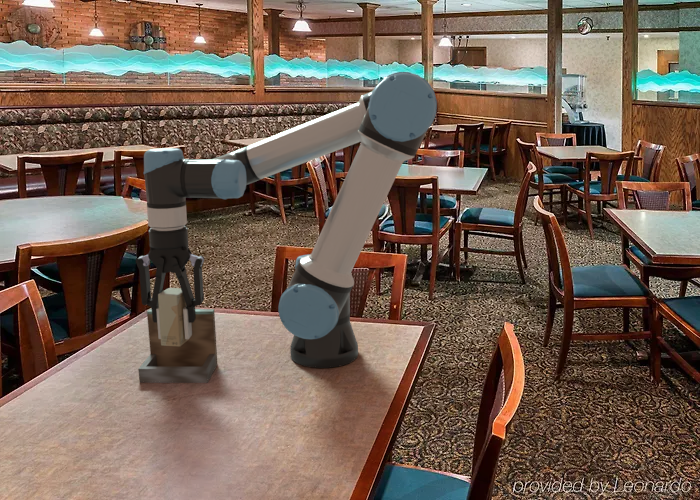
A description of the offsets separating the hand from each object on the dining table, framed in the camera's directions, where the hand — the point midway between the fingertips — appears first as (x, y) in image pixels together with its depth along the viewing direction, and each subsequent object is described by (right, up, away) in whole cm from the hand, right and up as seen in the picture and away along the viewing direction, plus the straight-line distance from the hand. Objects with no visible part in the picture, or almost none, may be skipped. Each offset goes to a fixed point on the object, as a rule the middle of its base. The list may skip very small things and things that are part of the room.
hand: (175, 336), depth 141 cm
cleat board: (0, -8, +3) cm, 8 cm away
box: (0, -1, 0) cm, 1 cm away
